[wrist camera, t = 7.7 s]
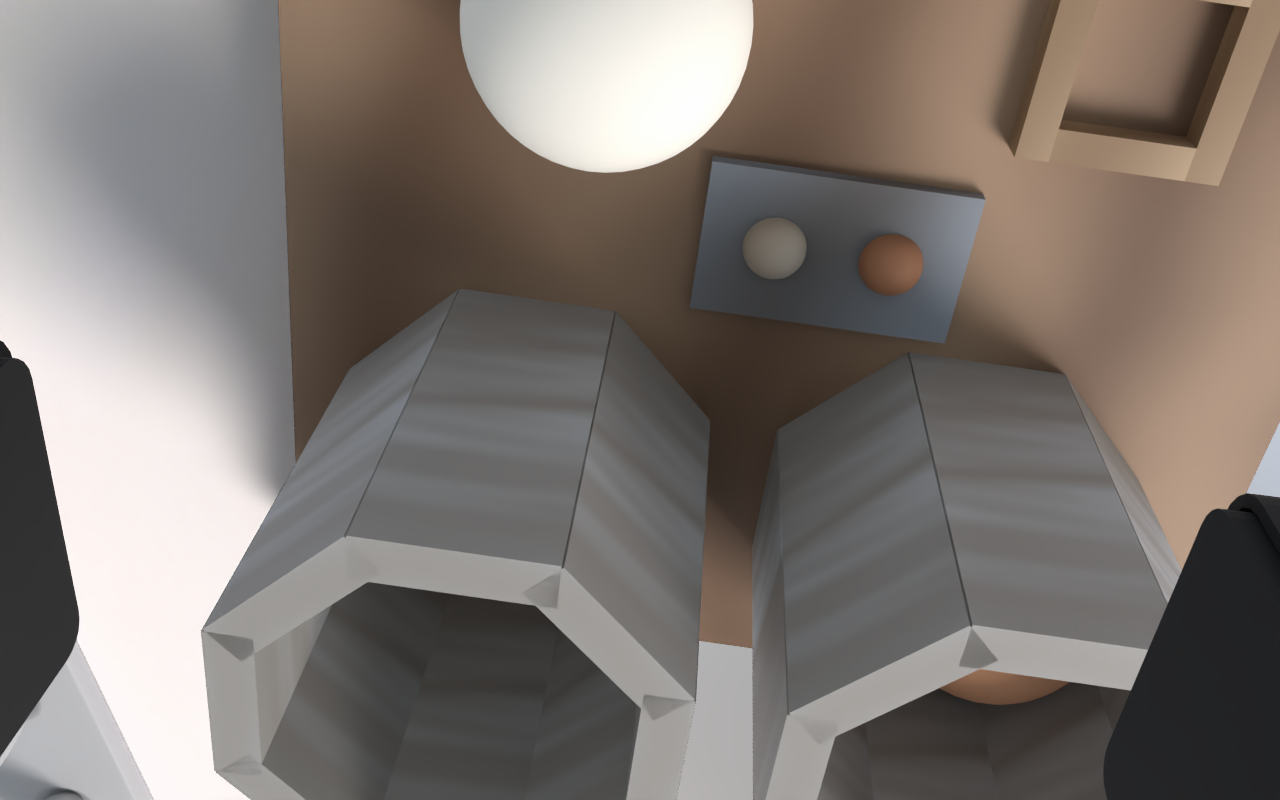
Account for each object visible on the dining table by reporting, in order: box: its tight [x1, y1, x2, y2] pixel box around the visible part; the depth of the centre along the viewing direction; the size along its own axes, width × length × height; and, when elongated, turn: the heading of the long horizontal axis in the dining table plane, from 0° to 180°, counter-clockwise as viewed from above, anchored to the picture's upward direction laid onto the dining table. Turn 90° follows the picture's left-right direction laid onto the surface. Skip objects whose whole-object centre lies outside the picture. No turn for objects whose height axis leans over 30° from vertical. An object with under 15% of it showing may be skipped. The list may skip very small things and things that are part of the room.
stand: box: [201, 0, 1280, 800], centre depth 21 cm, size 20×18×10 cm
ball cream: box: [460, 0, 753, 173], centre depth 19 cm, size 4×4×4 cm
